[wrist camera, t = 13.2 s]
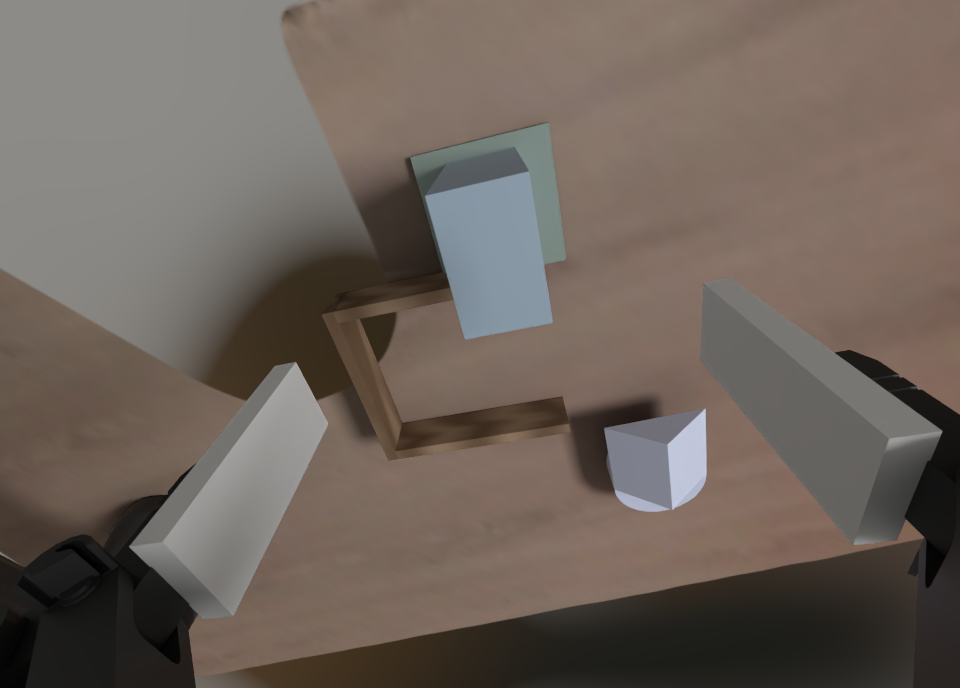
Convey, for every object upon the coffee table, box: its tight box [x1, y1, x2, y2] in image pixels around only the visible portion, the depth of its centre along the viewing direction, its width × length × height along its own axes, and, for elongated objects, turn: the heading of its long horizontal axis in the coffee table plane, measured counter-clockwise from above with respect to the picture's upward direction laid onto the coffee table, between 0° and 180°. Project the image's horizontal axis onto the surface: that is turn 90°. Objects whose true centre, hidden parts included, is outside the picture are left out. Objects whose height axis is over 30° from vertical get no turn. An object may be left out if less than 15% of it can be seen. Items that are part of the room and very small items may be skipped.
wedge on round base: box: [604, 409, 706, 512], centre depth 41 cm, size 9×7×13 cm
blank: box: [425, 147, 553, 340], centre depth 27 cm, size 5×8×12 cm, turn 13°
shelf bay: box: [321, 268, 570, 461], centre depth 37 cm, size 18×16×4 cm
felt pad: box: [410, 122, 566, 274], centre depth 32 cm, size 10×10×1 cm
